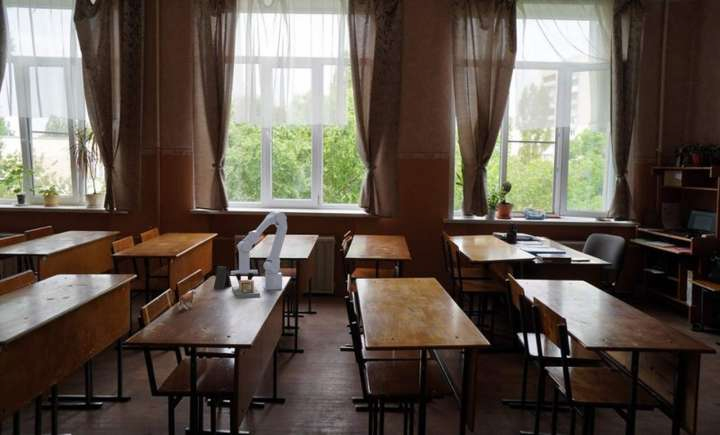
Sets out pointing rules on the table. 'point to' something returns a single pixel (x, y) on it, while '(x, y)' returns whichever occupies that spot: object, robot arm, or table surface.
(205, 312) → the table surface
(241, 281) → the tunnel
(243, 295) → the deck
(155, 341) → the table surface
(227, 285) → the phone stand
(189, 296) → the bull figurine
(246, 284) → the block
